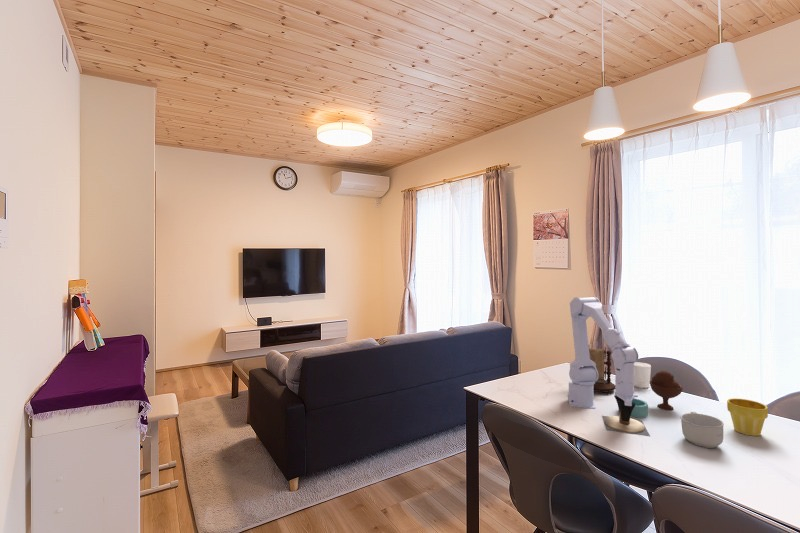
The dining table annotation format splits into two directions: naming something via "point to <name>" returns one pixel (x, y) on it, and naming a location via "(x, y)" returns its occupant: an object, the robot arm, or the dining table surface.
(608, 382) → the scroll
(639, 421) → the mat
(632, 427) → the lid
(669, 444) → the dining table surface
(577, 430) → the dining table surface
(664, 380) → the ice cream bowl
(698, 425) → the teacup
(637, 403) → the bowl
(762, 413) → the plant pot
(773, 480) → the dining table surface
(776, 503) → the dining table surface
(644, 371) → the white cup
